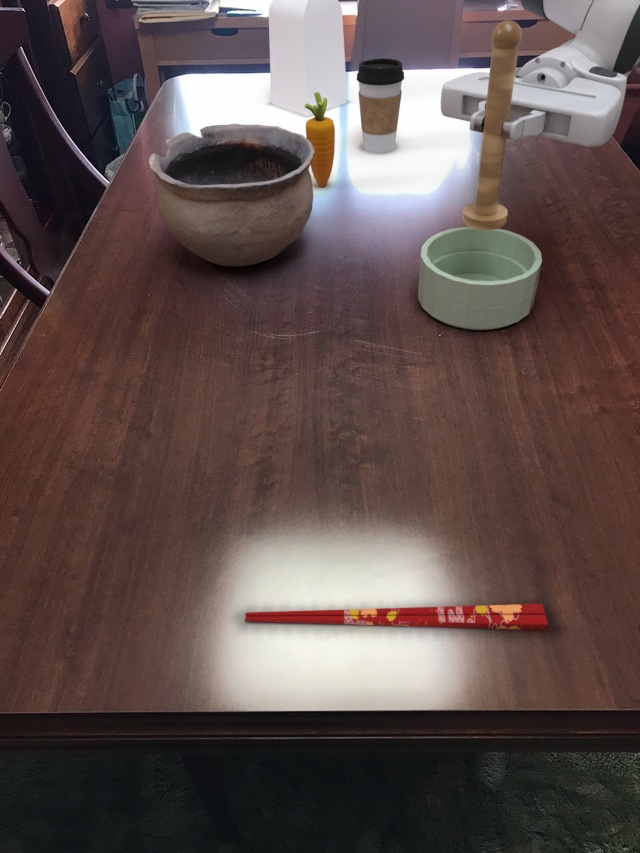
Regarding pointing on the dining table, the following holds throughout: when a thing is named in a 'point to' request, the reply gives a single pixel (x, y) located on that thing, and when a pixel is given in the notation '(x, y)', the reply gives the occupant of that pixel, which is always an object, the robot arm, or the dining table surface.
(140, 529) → the dining table surface
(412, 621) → the chopstick
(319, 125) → the carrot
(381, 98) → the coffee cup
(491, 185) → the muddler
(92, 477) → the dining table surface
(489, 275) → the celadon bowl
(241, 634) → the dining table surface
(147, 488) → the dining table surface
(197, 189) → the ceramic bowl
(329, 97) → the milk
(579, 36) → the robot arm
